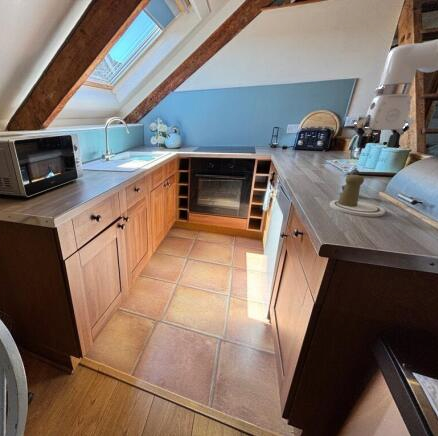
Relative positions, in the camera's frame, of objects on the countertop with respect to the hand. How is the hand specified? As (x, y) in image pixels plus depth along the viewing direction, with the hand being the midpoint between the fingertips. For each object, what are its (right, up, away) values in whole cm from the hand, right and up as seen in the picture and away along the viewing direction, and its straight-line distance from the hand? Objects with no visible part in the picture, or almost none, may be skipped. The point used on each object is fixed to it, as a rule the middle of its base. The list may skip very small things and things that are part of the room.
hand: (375, 147), depth 83 cm
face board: (0, -21, +8) cm, 22 cm away
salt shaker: (+10, -14, +24) cm, 29 cm away
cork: (-2, -19, +9) cm, 21 cm away
